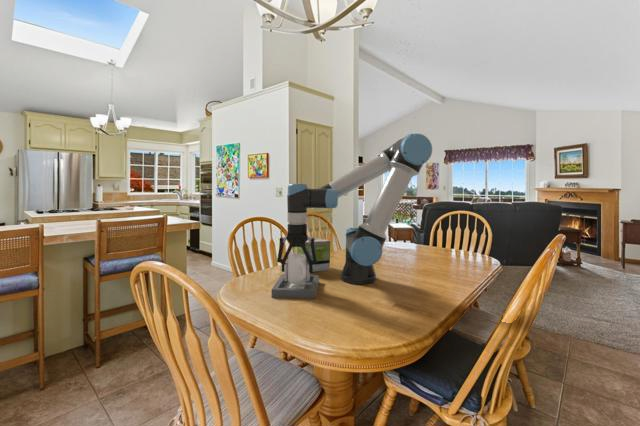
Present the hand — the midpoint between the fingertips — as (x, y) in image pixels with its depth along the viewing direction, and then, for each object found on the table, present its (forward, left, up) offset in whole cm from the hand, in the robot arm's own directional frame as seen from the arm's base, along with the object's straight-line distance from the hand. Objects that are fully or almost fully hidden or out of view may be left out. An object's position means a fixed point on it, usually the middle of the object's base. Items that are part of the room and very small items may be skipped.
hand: (297, 279), depth 129 cm
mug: (-1, 0, -1) cm, 2 cm away
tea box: (-3, -30, -4) cm, 30 cm away
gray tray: (0, 0, -4) cm, 4 cm away
